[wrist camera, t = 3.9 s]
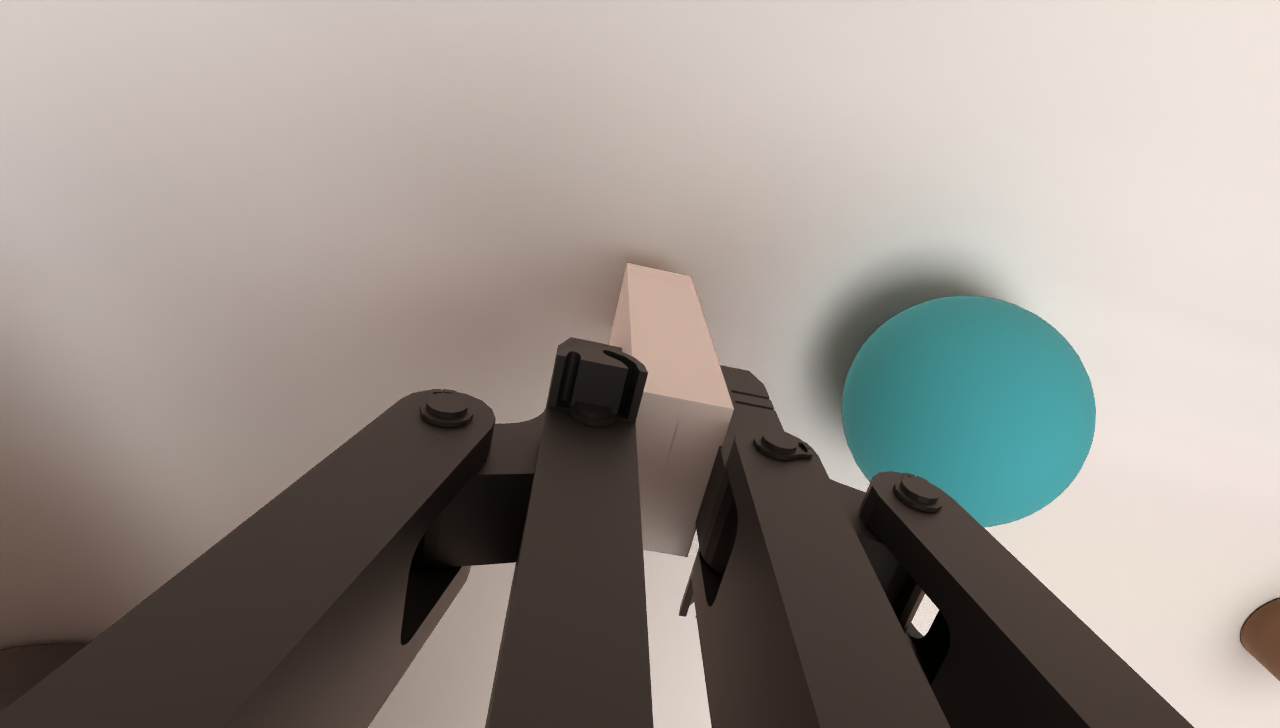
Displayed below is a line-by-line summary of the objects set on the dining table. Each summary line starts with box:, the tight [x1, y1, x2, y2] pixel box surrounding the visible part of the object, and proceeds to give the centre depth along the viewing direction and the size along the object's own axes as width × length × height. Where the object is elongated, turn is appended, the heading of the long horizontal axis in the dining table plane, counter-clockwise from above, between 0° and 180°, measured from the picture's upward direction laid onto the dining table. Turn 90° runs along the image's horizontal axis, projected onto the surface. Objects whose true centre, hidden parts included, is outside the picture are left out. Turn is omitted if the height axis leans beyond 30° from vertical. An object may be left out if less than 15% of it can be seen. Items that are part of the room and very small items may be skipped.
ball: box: [842, 296, 1096, 527], centre depth 17 cm, size 6×6×6 cm
